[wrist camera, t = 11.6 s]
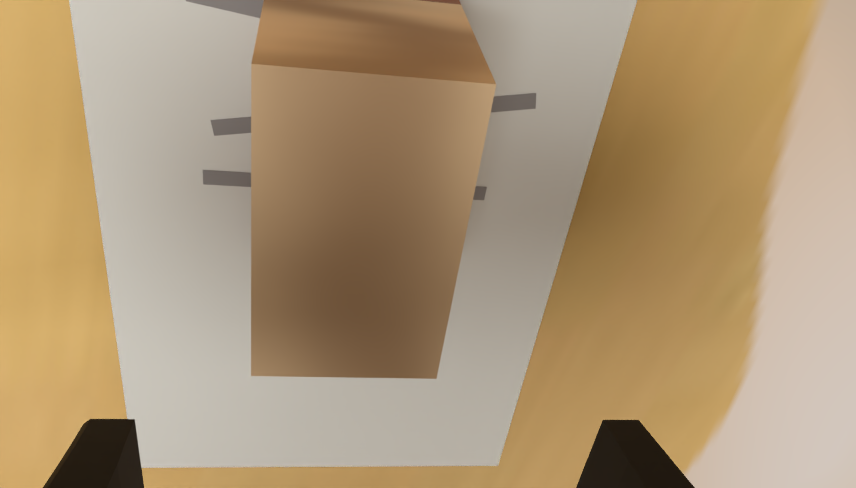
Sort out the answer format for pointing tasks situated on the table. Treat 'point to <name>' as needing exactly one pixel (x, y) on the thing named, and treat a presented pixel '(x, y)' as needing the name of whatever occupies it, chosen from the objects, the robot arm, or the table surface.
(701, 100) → the table surface
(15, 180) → the table surface
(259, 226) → the block
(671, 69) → the table surface
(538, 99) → the board
